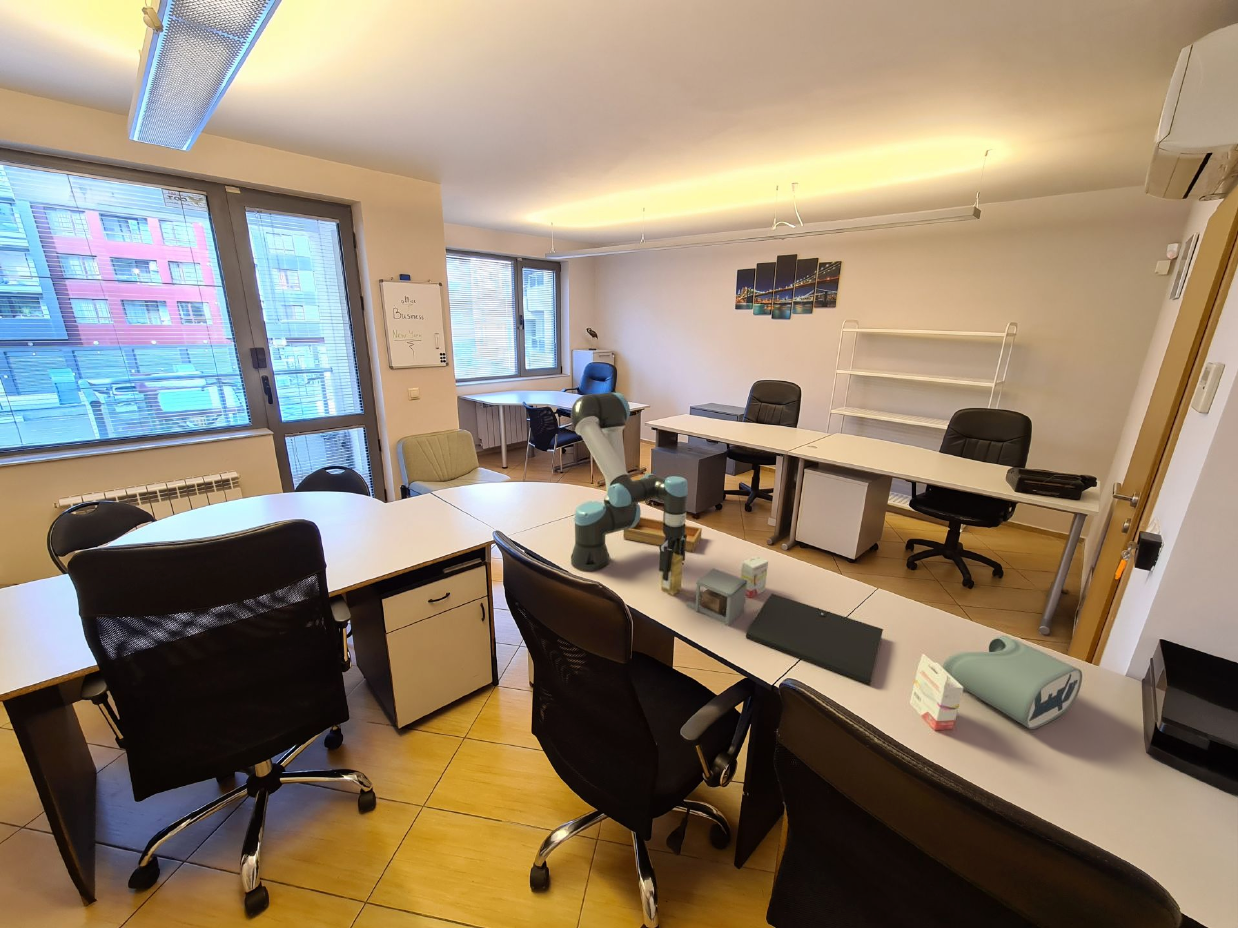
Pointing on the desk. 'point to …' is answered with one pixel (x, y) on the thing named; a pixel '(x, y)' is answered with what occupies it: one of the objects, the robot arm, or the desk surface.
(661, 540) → the tray
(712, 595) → the block
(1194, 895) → the desk surface
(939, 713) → the ink cartridge box
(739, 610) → the box
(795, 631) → the file folder
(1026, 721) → the green hollow piece
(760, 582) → the ink box
